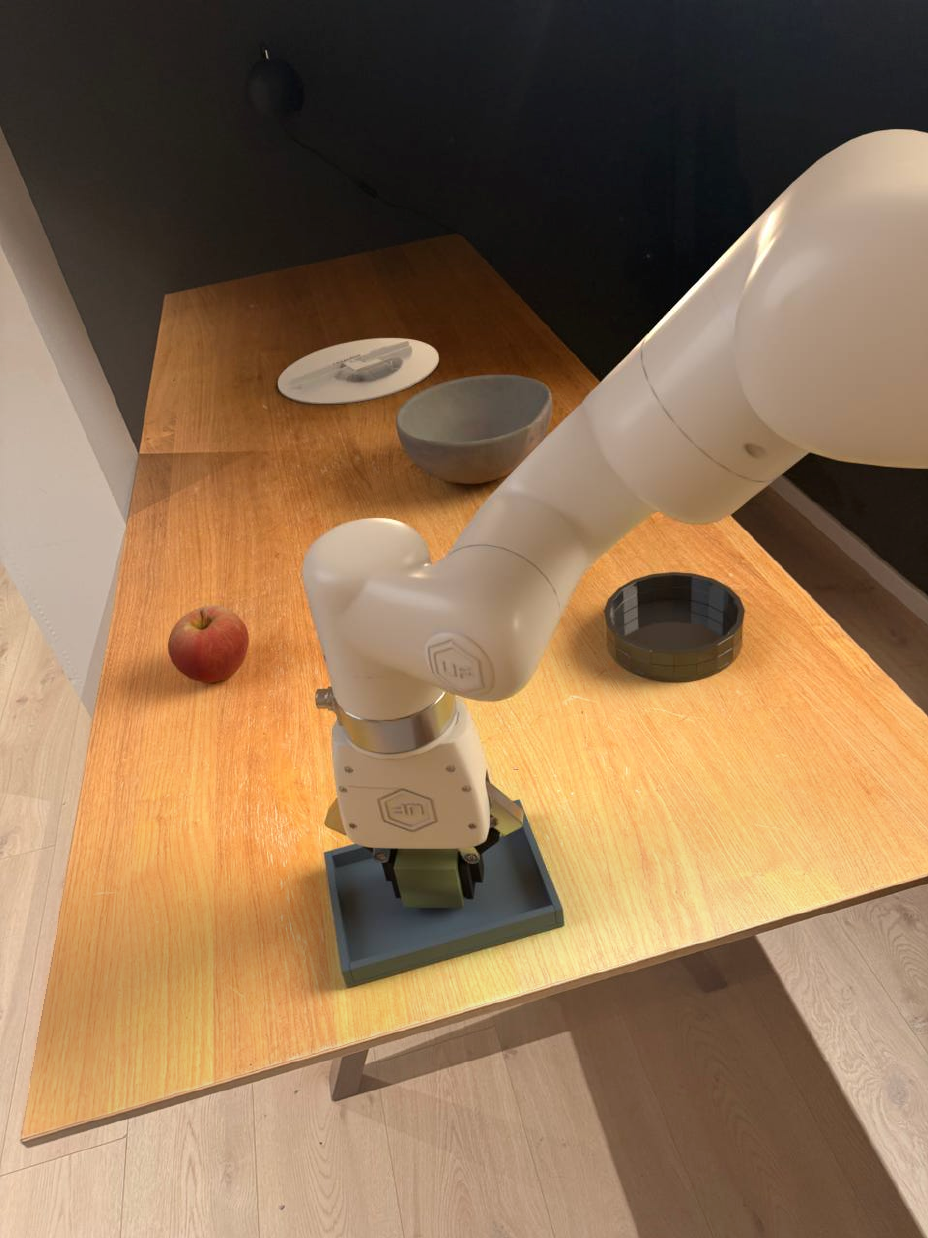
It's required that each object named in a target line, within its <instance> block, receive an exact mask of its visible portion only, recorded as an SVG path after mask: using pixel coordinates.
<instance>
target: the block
mask: <svg viewBox="0 0 928 1238" xmlns="http://www.w3.org/2000/svg"><path fill="white" fill-rule="evenodd" d="M459 855H460V852H459V851H458V849H457V848H455V849H403V848H398V851H397V856H396V860H395V865H394V871H395V875H396V879H397V883H398V886H399V890H400V894H401V898H402V902H403V906H404V907H412V908H463V907H464V900H465V897H464V894H463V889H462V884H461V879H460V874H459V869H458V862H459Z"/></svg>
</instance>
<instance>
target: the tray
mask: <svg viewBox="0 0 928 1238" xmlns="http://www.w3.org/2000/svg"><path fill="white" fill-rule="evenodd" d="M512 801H513V802H514V803H515V804H517V805H518V806H519V807H520V808H521V809H522V810H523V824H522V827H521V828H520V829H518V830H516V831H514V832H512V833H510V834H508V835H507V836H505V837H504V836H502V837H500V838H499V841H498V842H497V843H496V844H495V845H493V846H492V847H491V848H489V849H488V850H487V851H485V852H484V853H482V856H483V862H484V878H483V882H482V883H476V885H475V893H474V899H466V897H465V900H464V907H463V908H412V907H404V906H403V902H402V898H396V897H395V893H394V889H393V886H392V882H391V881H386V878H385V874H384V870H383V867H382V863H379V862H377V861H375V860H374V859H373V852H371V851H369V850H368V849H366V848H364V847H362V846H360V845H357V844H355V843H352V844H349V845H345V846H342V847H337V848H333V849H331V850H326V851H323V859H324V865H325V871H326V878H327V885H328V891H329V899H330V904H331V910H332V918H333V924H334V931H335V939H336V945H337V951H338V952H337V953H338V957H339V958H338V959H339V965H340V972H341V975H342V978H343V981H344V983H345V987H346V988H347V989H350V988H354V987H357V986H359V985H364V984H367V983H371V982H374V981H378V980H381V979H384V978H388V977H391V976H394V975H399V974H402V973H405V972H409V971H412V970H415V969H419V968H423V967H426V966H429V965H430V966H431V965H433V964H436V963H439V962H443V961H446V960H451V959H454V958H457V957H461V956H464V955H467V954H470V953H474V952H478V951H481V950H485V949H488V948H491V947H495V946H498V945H502V944H505V943H506V944H507V943H510V942H514V941H515V940H519V939H523V938H527V937H530V936H533V935H537V934H540V933H545V932H547V931H550V930H554V929H558V928H560V927H561V928H562V927H564V926H565V915H564V908H563V905H562V903H561V901H560V898H559V895H558V892H557V890H556V887H555V885H554V882H553V879H552V878H551V875H550V871H549V869H548V867H547V865H546V862H545V860H544V858H543V855H542V852H541V850H540V847H539V844H538V842H537V839H536V837H535V834H534V832H533V829H532V827H531V824H530V822H529V819H528V816H527V815H526V812H525V809H524V807H523V804H522V801H521V799H519V798H518V799H515V800H512ZM490 815H491V814H490Z"/></svg>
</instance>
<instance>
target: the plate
mask: <svg viewBox="0 0 928 1238" xmlns="http://www.w3.org/2000/svg"><path fill="white" fill-rule="evenodd" d="M439 362H440V356H439V352H438V351H437V349H436V348H435V347H433V346H432V345H430V344H428V343H426V342H423V341H420V340H417V339H412V338H403V337H401V338H400V337H378V338H367V339H359V340H354V341H348V342H344V343H339V344H335V345H332V346H329V347H325V348H322V349H319V350H316V351H314V352H312V353H310V354H309V353H308V355H305V356H303V357H301V358H299V359H298V360H296V361H294V362H293V363H291V364H290V365H289V366H288V367H286V369H284V370H283V372H281V374H280V375H279V377H278V379H277V387H278V390H279V392H280V393H281V394H282V395H283V396H285V397H286V398H288V399H290V400H291V401H292V400H293V401H296V402H298V403H303V404H311V405H344V404H352V403H353V404H354V403H359V402H365V401H370V400H376V399H379V398H383V397H387V396H389V395H392V394H396V393H398V392H400V391H403V390H406V389H409V388H410V387H412V386H414V385H417V384H418V383H420V382H421V381H423V380H424V379H426V378H427V377H429V376H430V375H431V374H432V373H433V372H434V370H435V369H436V368H437V367H438V364H439Z"/></svg>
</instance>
